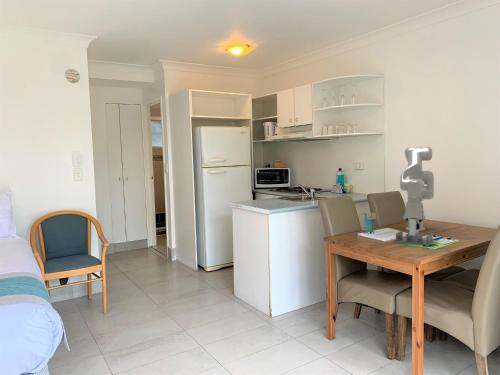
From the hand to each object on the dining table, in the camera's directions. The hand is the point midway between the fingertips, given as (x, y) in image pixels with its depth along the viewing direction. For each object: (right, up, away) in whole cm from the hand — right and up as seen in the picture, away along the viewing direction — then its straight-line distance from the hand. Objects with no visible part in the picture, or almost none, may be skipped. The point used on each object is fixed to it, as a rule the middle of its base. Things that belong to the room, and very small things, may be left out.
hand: (414, 229), depth 242 cm
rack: (0, -8, +1) cm, 8 cm away
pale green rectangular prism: (0, -3, 0) cm, 3 cm away
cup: (-18, -6, +34) cm, 39 cm away
